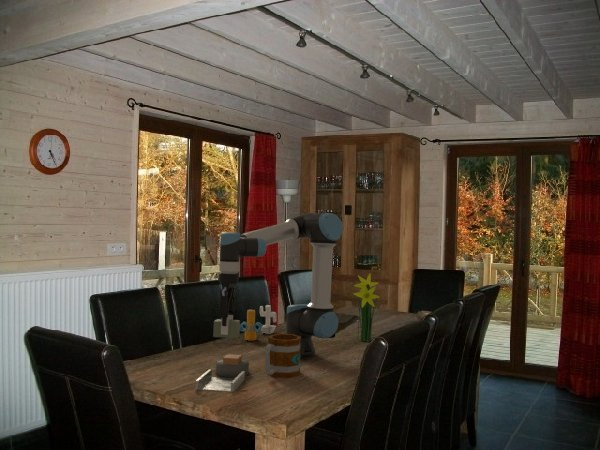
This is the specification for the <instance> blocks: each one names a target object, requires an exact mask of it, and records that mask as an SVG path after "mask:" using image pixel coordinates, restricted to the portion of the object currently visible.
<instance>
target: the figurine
mask: <svg viewBox="0 0 600 450" xmlns="http://www.w3.org/2000/svg"><path fill="white" fill-rule="evenodd" d="M271 308H272V307H271V305H269V304H266V305H265V311H264V306H263V305H260V306H259V315H260V317H264V318H265V324H262V328H261V330H260V331H261V334H263V333H265V334H266V335H272V334H273V333H274V332H275V329H276V328H277V325H274V324H273V325H272V324H271V318H272V322H273V323H276V322H277V312H275V311H272V309H271ZM260 327H261V326H260Z"/></svg>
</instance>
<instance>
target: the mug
mask: <svg viewBox="0 0 600 450" xmlns="http://www.w3.org/2000/svg"><path fill="white" fill-rule="evenodd" d="M267 340H268V344H267V345H266V346H265V348H264V349H265V350H264V369H265V370H264V371H265V373H266V374H267V375H268V376H270V377H273V378H282V379H289V378H295V377H298V376H299V375H300V374H301V359H300V357H301V353H300V341H301V336H297V335H294V334H286V333H277V334H269V336H268V337H267Z"/></svg>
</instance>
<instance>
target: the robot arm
mask: <svg viewBox="0 0 600 450" xmlns="http://www.w3.org/2000/svg"><path fill="white" fill-rule="evenodd" d="M343 231H344V226H343V223H342V220H341V218H340V217H339V216H338V215H337V214H335V213H331V212H308V213H304V214H300V215H298V216H295V217H294V216H293V217H292V218H288V219H287V220H286V221H285V222H282V223H278V224H275V225H270V226H266V227H263V228H260V229H256V230H251V231H248V232H244V233H241V234H240V232H226V231H225V232H221V234H220V238H219V239H220V240H219V263H218V264H217V266H218V267H219V268H218V269H219V274H218V283H220V284H223V285H222V288H221V290H220V291H219V298H220V300H219V315H218V317H219V318H220V319H221V334H223V335H228V327H229V320H234V316H235V315H236V293H237V292H236V291H237V287H236V286H235V285H234V284H238V283H239V278H240V277H239V275H240V274H239V272H240V258H259V257H260V258H261V257H263V256H265V254H266V252H267V247H268V246H270V245H273V244H276V243H279V242H283V241H287V240H292V241H294V240H299V239H310V240H309V243H310V245H311V246H312V249H313V250H312V269H311V289H310V291H311V292H310V302H309V303H300V304H299V303H298V304H290V305H288V306H287V307H286V313H285V317H286V319H285V320H286V323H285V324H286V326H285V327H286V328H285V331H286V332H285V334H294V335H297V336H301V341H300V353H301V357H300V360H301V359H303V360H304V359H311V358H314V357H315V356H316V348H315V346H314V341H313V339H312V337H316V338H317V339H329V338H330V337H332V336H334V334H335V333H336V332H337V330H338V327H339V318H338V316H337V314H336V313H335V312H334V305H333V304H332V303H331V296H332V294H331V293H332V274H333V273H332V272H333V257H334V256H333V255H334V254H333V253H334V247H336V246H337V244H338V240H339V239H341V236H342V235H343Z"/></svg>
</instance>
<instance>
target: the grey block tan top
mask: <svg viewBox="0 0 600 450" xmlns="http://www.w3.org/2000/svg"><path fill="white" fill-rule="evenodd" d="M242 371H245V377H247V376H248V375H249V371H250V362H249V361H248V360H246V359H243V355H242V354H232V353H231V354H225V355H224V356H223V358H222V359H219V360H217V361H216V362H215V376H216V377H221V378H236V377H237V376H238V375H239V374H240V373H241V372H242Z"/></svg>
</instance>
